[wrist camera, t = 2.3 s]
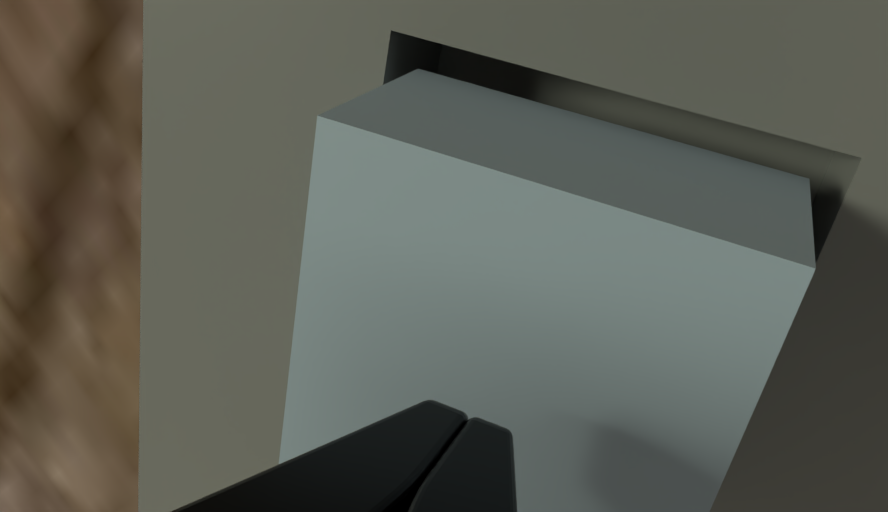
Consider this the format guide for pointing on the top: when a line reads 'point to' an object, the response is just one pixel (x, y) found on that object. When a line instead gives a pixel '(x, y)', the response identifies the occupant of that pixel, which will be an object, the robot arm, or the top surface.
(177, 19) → the keypad
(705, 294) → the slate key
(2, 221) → the top surface
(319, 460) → the robot arm
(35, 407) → the top surface
